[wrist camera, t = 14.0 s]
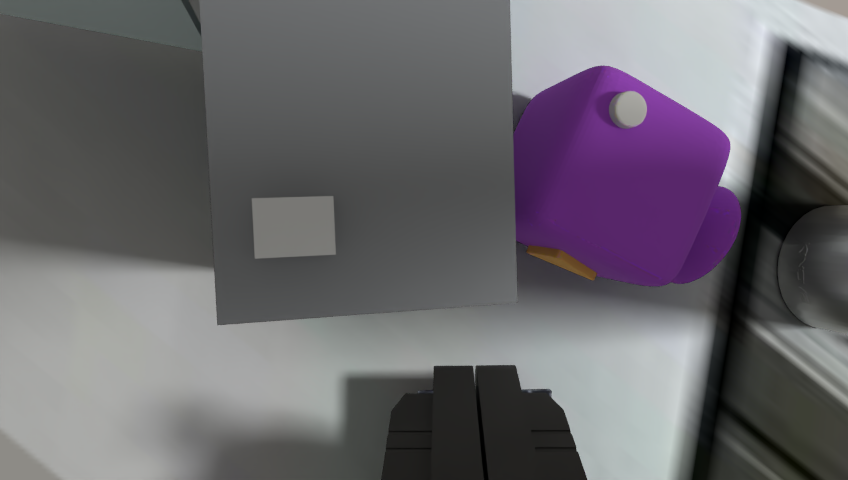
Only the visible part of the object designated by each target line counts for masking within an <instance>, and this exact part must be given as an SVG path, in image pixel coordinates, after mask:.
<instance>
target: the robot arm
mask: <svg viewBox="0 0 848 480" xmlns="http://www.w3.org/2000/svg"><path fill="white" fill-rule="evenodd" d="M778 280H779V286H780V290H781V293H782V297H783V299H784V301H785V303H786V304H787V306H788V308H789V309H790V310H791V312H792V313H793V314H794V315H795V316H796V317H797V318H798V319H800V320H801V321H802V322H803V323H805V324H808V325H810V326H812V327H815V328H820V329H824V330H829V331H833V332H838V333H842V334H847V335H848V205H840V206H823V207H820V208H816V209H814V210H812V211H810V212H808V213H807V214H805V215H804V216H802V217H801V218H800V219H799V220H798V221H797V222H796V223H795V224H794V226H793V227H792V228H791V230H790V231H789V232H788V234H787V236H786V238H785V240H784V243H783V245H782V248H781V252H780V255H779V262H778ZM381 480H587V478H586V475H585V472H584V469H583V466H582V463H581V460H580V457H579V454H578V452H577V451H576V445H575V442H574V439H573V436H572V434H571V433H570V428H569V425H568V422H567V419H566V416H565V413H564V410H563V409H562V408H561V407H560V406H559V405H558V404H557V403H556V402H555V401H554V400H553V399H552V398H551V397H550V396H549V395H548V394H547V393H522V391H521V387H520V382H519V378H518V374H517V369H516V366H515V365H487V366H476V369H475V383H474V373H473V366H434V380H433V393H426V394H405V395H404V396H403V397H402V398H401V400H400V401H399V402H398V403H397V405H396V406H395V407H394V408H393V410H392V411H391V418H390V424H389V435H388V438H387V445H386V452H385V459H384V465H383V472H382V479H381Z"/></svg>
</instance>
